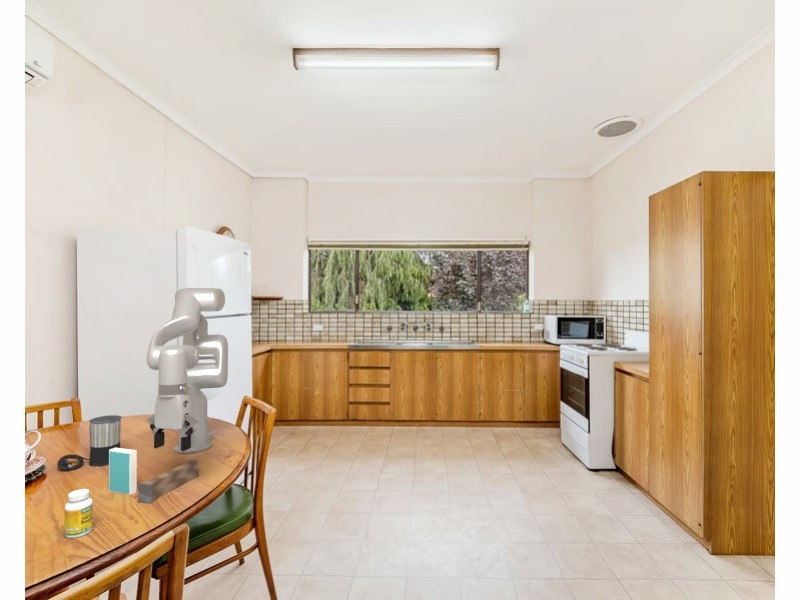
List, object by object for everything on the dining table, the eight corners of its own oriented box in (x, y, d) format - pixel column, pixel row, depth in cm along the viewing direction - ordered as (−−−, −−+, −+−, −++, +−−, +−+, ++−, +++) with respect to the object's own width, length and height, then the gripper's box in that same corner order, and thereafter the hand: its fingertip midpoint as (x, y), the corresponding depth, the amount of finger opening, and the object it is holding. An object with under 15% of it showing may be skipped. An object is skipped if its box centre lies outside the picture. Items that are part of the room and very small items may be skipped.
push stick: (190, 475, 135) (190, 459, 135) (200, 476, 133) (200, 460, 133) (138, 502, 117) (138, 483, 117) (149, 504, 115) (149, 485, 115)
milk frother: (128, 458, 149) (128, 415, 149) (83, 475, 134) (84, 428, 134) (96, 454, 153) (97, 413, 153) (50, 471, 138) (50, 425, 138)
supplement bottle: (75, 527, 104) (75, 487, 104) (97, 526, 104) (98, 487, 104) (58, 539, 98) (58, 497, 98) (82, 538, 99) (82, 497, 99)
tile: (115, 488, 125) (115, 447, 125) (136, 491, 123) (136, 450, 123) (108, 491, 123) (108, 449, 123) (129, 495, 121) (130, 452, 121)
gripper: (206, 388, 127) (206, 446, 126) (160, 386, 131) (159, 442, 131) (187, 393, 119) (186, 455, 119) (138, 390, 124) (138, 449, 124)
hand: (172, 448), depth 125 cm, fingers open, 9 cm apart
